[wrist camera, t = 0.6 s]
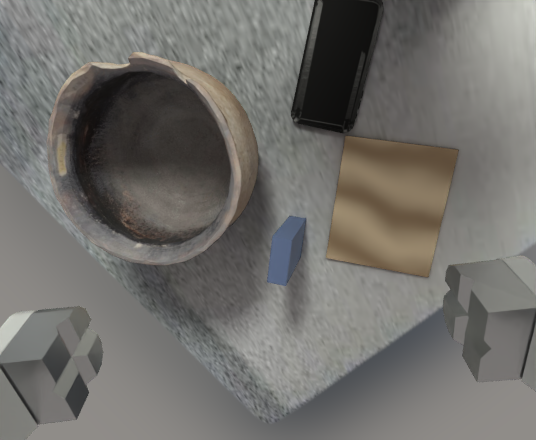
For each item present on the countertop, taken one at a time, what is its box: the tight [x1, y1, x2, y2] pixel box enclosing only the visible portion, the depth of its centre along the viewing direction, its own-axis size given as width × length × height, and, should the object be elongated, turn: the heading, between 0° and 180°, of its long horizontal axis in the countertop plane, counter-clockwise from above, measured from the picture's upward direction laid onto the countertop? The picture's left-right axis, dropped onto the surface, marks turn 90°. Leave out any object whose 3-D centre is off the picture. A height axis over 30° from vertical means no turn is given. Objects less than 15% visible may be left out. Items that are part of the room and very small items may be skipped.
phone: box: [291, 0, 383, 133], centre depth 47 cm, size 8×1×15 cm
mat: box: [326, 136, 459, 277], centre depth 50 cm, size 16×13×1 cm
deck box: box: [267, 216, 306, 286], centre depth 49 cm, size 6×2×10 cm, turn 173°
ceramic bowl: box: [47, 52, 258, 265], centre depth 47 cm, size 22×22×15 cm
